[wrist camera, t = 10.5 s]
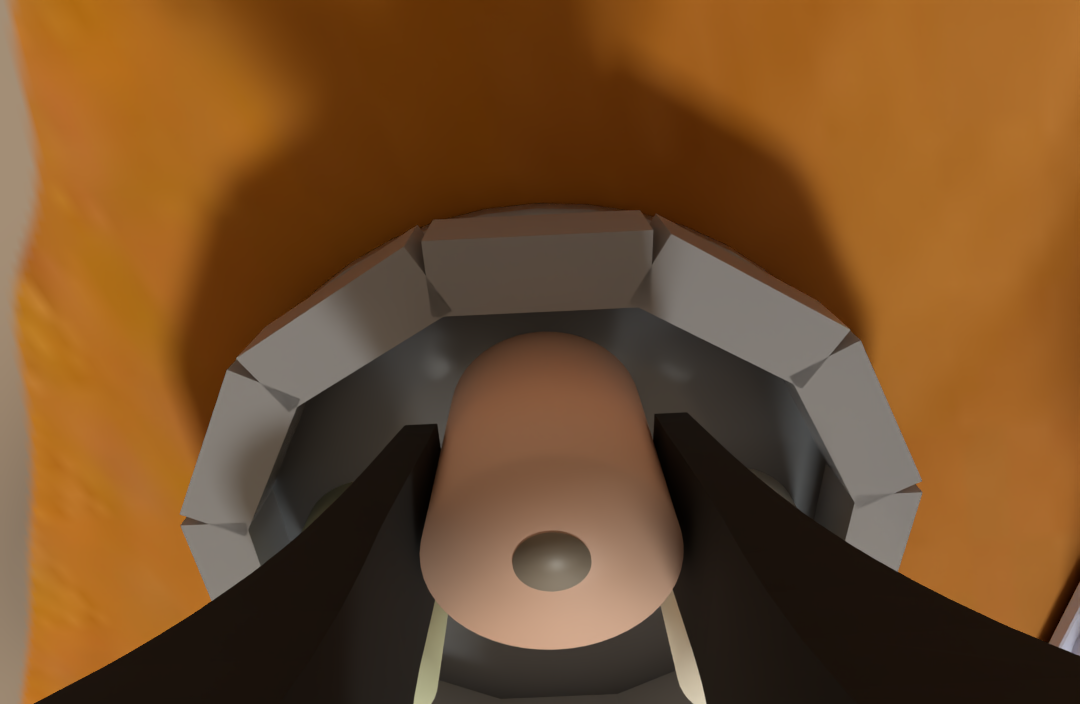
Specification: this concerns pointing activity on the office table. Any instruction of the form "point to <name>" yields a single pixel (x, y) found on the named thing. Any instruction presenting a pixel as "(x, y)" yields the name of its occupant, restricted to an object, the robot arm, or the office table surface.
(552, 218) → the tray
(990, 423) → the office table surface
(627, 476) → the bead terracotta
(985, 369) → the office table surface
